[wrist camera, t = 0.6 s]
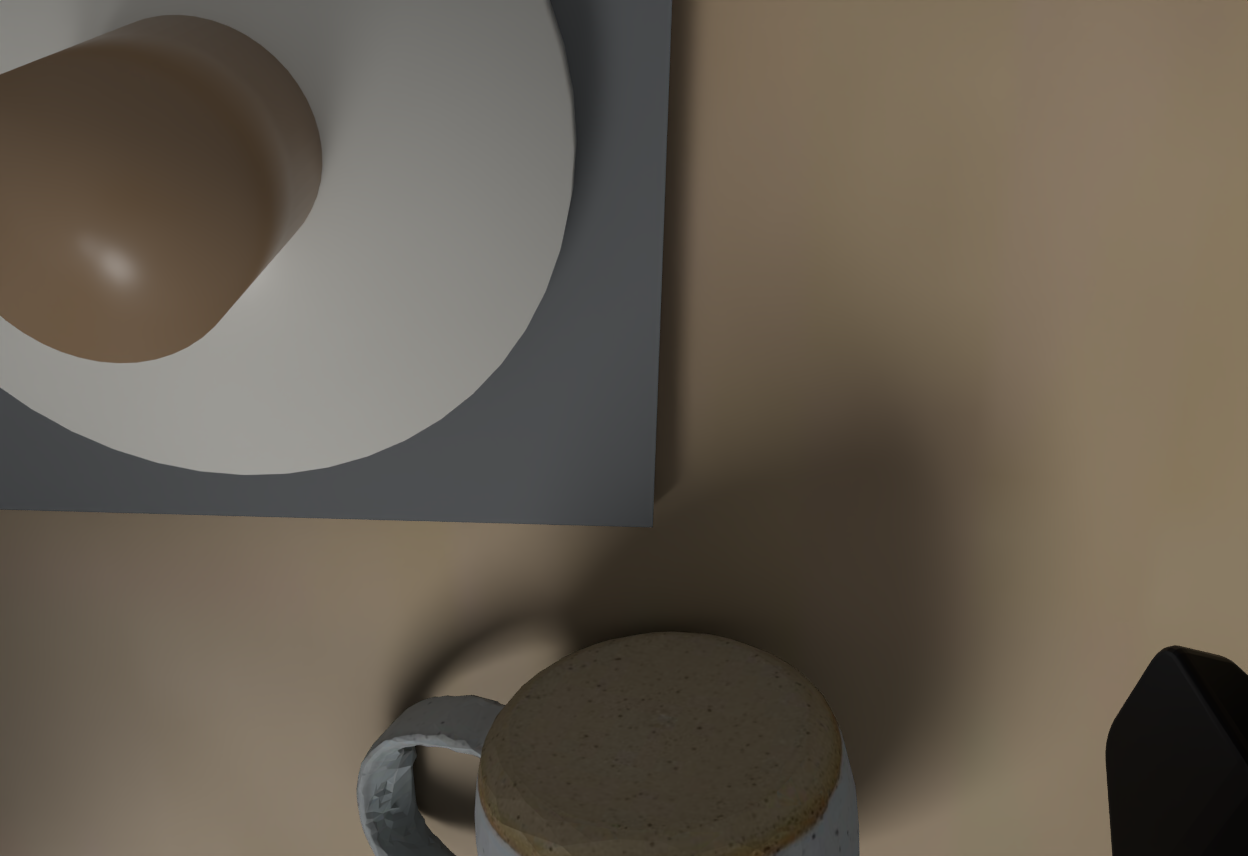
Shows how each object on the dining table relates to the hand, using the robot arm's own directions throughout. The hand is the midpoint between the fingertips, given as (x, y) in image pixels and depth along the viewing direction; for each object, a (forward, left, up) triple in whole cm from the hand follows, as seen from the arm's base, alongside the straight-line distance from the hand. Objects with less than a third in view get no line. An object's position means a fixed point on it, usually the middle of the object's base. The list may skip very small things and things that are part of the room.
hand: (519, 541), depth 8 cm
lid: (-6, 0, -13) cm, 14 cm away
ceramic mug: (+1, -15, -14) cm, 20 cm away
